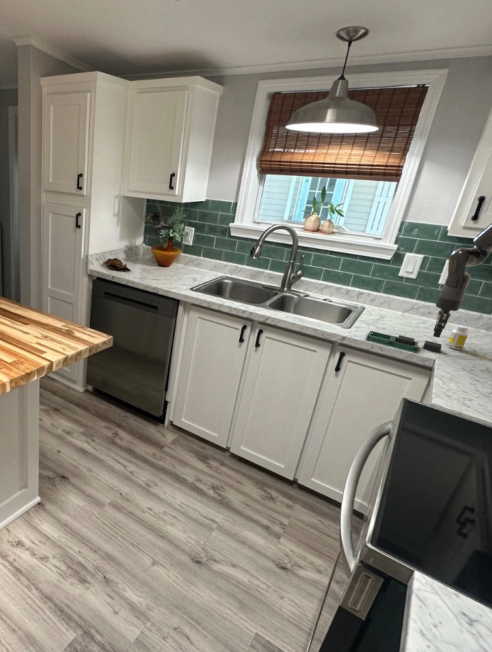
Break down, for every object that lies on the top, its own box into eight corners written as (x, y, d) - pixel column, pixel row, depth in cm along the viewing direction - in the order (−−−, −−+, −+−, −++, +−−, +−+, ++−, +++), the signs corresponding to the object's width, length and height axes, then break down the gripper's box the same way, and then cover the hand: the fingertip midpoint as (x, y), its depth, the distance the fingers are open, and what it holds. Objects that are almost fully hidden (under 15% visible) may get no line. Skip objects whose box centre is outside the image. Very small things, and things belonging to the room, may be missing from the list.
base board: (416, 346, 177) (418, 341, 176) (415, 354, 168) (417, 348, 167) (369, 334, 187) (370, 329, 186) (365, 341, 178) (367, 336, 177)
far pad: (438, 350, 174) (441, 344, 173) (438, 354, 170) (441, 347, 169) (423, 346, 177) (425, 340, 176) (422, 350, 173) (425, 343, 172)
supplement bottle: (463, 348, 178) (472, 327, 175) (459, 350, 175) (468, 329, 172) (448, 344, 182) (457, 323, 179) (444, 346, 179) (452, 325, 176)
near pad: (412, 345, 175) (414, 338, 174) (411, 348, 171) (413, 342, 170) (396, 341, 178) (399, 335, 177) (395, 344, 174) (398, 338, 173)
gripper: (463, 303, 158) (447, 341, 164) (462, 296, 168) (447, 332, 174) (439, 298, 162) (424, 336, 168) (439, 292, 172) (425, 327, 178)
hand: (436, 334), depth 171 cm, fingers open, 8 cm apart
